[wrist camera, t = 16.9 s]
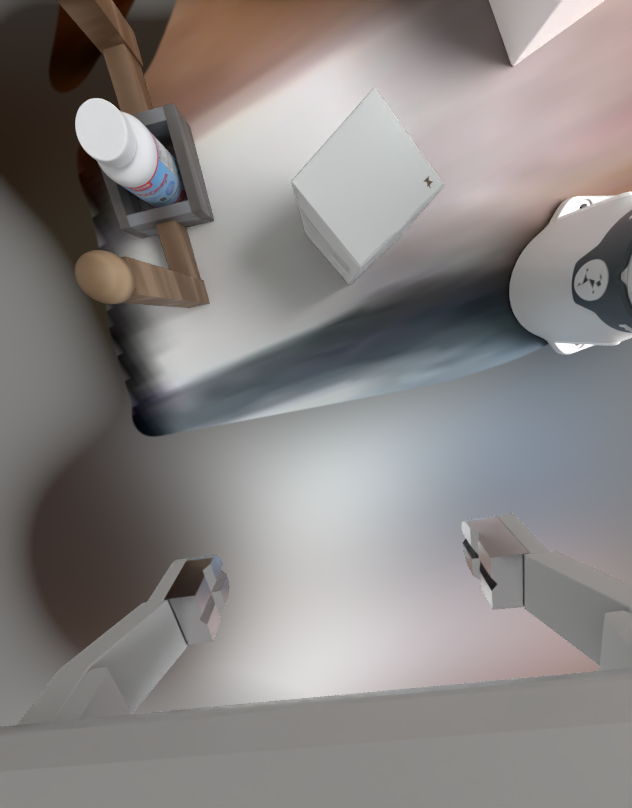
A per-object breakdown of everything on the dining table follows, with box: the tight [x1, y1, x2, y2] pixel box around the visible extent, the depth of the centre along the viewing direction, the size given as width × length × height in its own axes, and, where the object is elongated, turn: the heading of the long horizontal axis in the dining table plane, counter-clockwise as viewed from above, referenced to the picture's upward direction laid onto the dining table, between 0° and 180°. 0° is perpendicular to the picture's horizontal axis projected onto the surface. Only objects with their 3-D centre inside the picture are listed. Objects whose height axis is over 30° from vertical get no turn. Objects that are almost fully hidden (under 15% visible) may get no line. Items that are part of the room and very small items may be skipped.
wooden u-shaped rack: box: [57, 0, 214, 308], centre depth 28 cm, size 10×30×19 cm, turn 11°
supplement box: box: [291, 88, 444, 284], centre depth 30 cm, size 9×9×15 cm
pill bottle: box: [75, 98, 187, 208], centre depth 31 cm, size 6×6×11 cm
